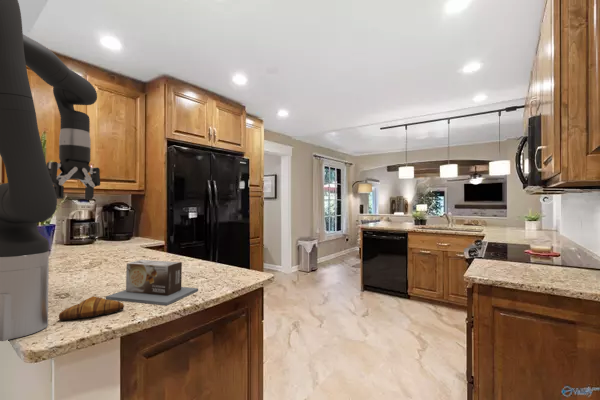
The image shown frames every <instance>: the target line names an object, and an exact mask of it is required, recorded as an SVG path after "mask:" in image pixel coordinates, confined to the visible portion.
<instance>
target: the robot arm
mask: <svg viewBox="0 0 600 400" xmlns="http://www.w3.org/2000/svg"><path fill="white" fill-rule="evenodd" d="M19 3H20V2H19V0H0V157H1V160H2V162H3V164H4V168H5V173H6V174H5V175H6V179H7V182H5V183H0V342H6V341H9V340H12V339H17V338H21V337H26V336H29V335H33V334H35V333H37V332H40V331H43V330H44V329H47V327H48V326H49V277H50V276H49V268H50V267H49V265H50V264H49V263H50V261H49V260H50V259H49V257H50V253H49V252H50V242H49V240H48V239H47V238H46V237H44V236H43V235H42V234H41V232H40V231H39V230H38V224H39V223H42V222H46V221H47V220H49V219H51V217H53V215H54V214H55V212H56V210H57V206H58V199H59V200H60V199H61V200H63V199H64V195H65V193H64V192H65V191H64V189H65V188H64V184H65V183H66V182H67V181H68V180H79V181H80V183H82V184H83V185H84V186H85V187H84V199H85V200H93V198H94V196H95V195H94V192H95V191H94V190H95V189H94V188H95V187H98V186H99V187H100V186H101V174H100V173H101V172H100V167H90V162H91V149H92V148H91V136H90V135H91V134H90V133H91V132H90V130H91V129H90V127H91V125H90V124H91V122H90V116H89V115H88V114H87V113H85V112H82V111H78V110H76V109H75V108H74V106H91V105H94V104H95V103H96V102H97V99H98V92H97V91H96V90H97V89H96V88H95V86H93V84H92V83H91V82H90V81H89V80H87V79H86V78H85V77H84V76H82V75H80V74H78V73H77V72H75V71H74V70H72V69H70V68H69V67H68V66H67V64H65V63H64V61H62V60H61V59H60V58H59V57H58V56H57V55H56V54H55V52H53V51H52V50H51V49H49V48H48V47H46V46H45V45H43V44H42V43H40V42H38V41H36V40H34V39H33V38H30V37H29V36H26V35H25V34H24V32H23V22H22V21H23V20H22V13H21V7H20V4H19ZM27 67H28V68H29V69H30V70H31V71H32V72H33V73H34V74H35V75H36V76H38V77H39V78H40V79H41V80H42V81H44V82H45V83H46V84H48V86H50V87H52V93H53V97H54V99H55V102H56V103H55V104H56V105H57V109H58V112H59V117H60V131H59V139H58V140H59V141H58V159H59V162H57V161H49V162H46V159H45V154H44V150H43V145H42V144H43V143H42V140H41V135H40V131H39V126H38V119H37V114H36V108H35V103H34V98H33V93H32V90H31V85H30V81H29V74H28V70H27V69H28V68H27ZM58 170H60V173H58Z"/></svg>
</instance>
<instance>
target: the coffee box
mask: <svg viewBox="0 0 600 400" xmlns="http://www.w3.org/2000/svg"><path fill="white" fill-rule="evenodd" d="M182 266H183V262H182V261H168V260H167V261H166V260H165V261H164V260H153V259H152V260H150V259H140V260H135V261H131V262H127V263H126V271H125V272H126V273H125V274H126V275H125V277H126V278H125V290H126V292H135V293H146V294H156V295H167V296H168V295H170V294H173V293H175V292H177V291H179V290H181V287H182V273H183V272H182V269H183V267H182Z"/></svg>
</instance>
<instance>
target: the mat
mask: <svg viewBox="0 0 600 400" xmlns="http://www.w3.org/2000/svg"><path fill="white" fill-rule="evenodd" d="M198 291H199V288H196V287H185V286H181V290H179V291H177V292H175V293H173V294H170V295H168V296H167V295H156V294H146V293H135V292H126V289H124V290H121V291H119V292H114V293H112V294H109V295H106V296H105V299H106V300H114V301H119V302H131V303H141V304H152V305H158V306H159V305H161V306H169V305H171V304H173V303H176V302H177V301H180V300H182V299H183V298H185V297H188V296H190V295H192V294H195V293H197V292H198Z"/></svg>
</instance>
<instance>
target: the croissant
mask: <svg viewBox="0 0 600 400" xmlns="http://www.w3.org/2000/svg"><path fill="white" fill-rule="evenodd" d="M124 308H125V305H124V303H123V302H122V301H119V300H110V299H106V298H103V297H99V296H95V295H93V296H90V297H88V298H87V299H84V300H82V301H81V302H80V303H77V304H75V305H73V306H70V307H68V308H65V309H64V310H62V311H61V312H59V315H58V319H59V320H60V321H70V320H71V321H72V320H78V319H87V318H95V317H98V316H102V315H108V314H113V313H117V312H121V311H123V310H124Z"/></svg>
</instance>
